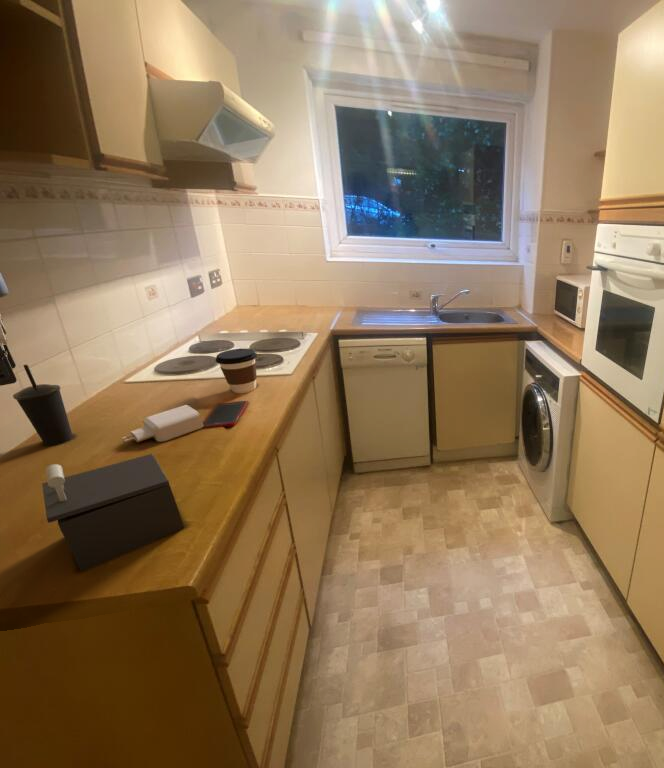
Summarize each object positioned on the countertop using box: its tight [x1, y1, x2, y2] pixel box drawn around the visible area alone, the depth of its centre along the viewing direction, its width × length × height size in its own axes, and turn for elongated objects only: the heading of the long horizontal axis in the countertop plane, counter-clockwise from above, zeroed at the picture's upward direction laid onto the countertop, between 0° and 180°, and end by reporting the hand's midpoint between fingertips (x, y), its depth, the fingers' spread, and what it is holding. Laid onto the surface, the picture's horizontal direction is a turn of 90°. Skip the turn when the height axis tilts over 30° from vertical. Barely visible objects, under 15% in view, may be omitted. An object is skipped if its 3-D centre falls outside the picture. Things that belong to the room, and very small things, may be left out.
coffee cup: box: [215, 348, 258, 394], centre depth 134 cm, size 11×11×12 cm
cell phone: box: [202, 400, 248, 429], centre depth 118 cm, size 8×15×1 cm, turn 18°
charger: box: [121, 404, 204, 443], centre depth 107 cm, size 5×9×15 cm
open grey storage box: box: [57, 484, 185, 572], centre depth 75 cm, size 14×13×10 cm
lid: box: [41, 453, 170, 524], centre depth 71 cm, size 14×13×5 cm
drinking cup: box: [12, 364, 74, 447], centre depth 101 cm, size 8×8×20 cm
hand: (6, 376), depth 64 cm, fingers open, 8 cm apart
